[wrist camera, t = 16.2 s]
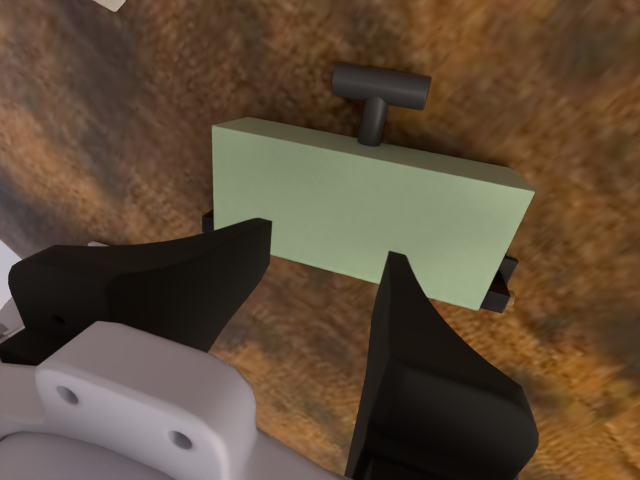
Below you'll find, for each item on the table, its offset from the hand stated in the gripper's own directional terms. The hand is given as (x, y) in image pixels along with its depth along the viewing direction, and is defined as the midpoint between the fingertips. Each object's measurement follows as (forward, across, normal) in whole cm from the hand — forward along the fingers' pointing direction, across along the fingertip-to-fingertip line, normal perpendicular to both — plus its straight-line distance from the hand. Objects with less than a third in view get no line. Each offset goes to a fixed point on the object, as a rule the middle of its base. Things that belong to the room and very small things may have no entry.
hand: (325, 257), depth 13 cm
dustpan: (+4, 0, -2) cm, 5 cm away
